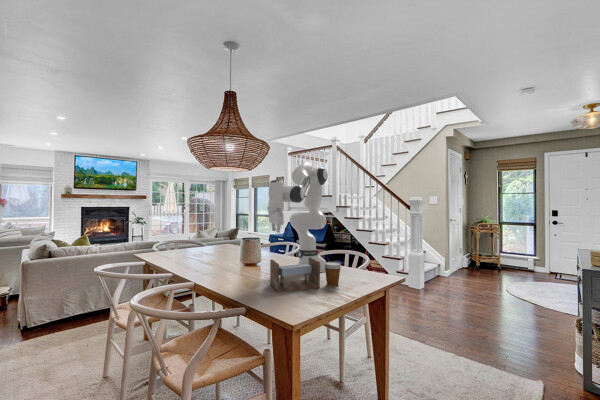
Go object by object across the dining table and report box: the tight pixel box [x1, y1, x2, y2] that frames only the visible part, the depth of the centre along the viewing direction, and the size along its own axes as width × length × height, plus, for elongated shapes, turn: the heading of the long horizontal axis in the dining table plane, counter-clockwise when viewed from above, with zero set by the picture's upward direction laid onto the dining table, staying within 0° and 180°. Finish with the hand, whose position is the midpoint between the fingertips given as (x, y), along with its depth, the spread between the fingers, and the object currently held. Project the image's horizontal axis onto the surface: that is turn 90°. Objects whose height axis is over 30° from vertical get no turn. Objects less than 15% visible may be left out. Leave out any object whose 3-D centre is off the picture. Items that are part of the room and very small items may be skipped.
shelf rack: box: [269, 257, 321, 293], centre depth 162 cm, size 24×14×14 cm, turn 109°
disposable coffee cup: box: [324, 261, 342, 287], centre depth 165 cm, size 10×10×12 cm
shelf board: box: [279, 264, 312, 278], centre depth 162 cm, size 18×6×4 cm, turn 120°
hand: (276, 231), depth 169 cm, fingers open, 8 cm apart
